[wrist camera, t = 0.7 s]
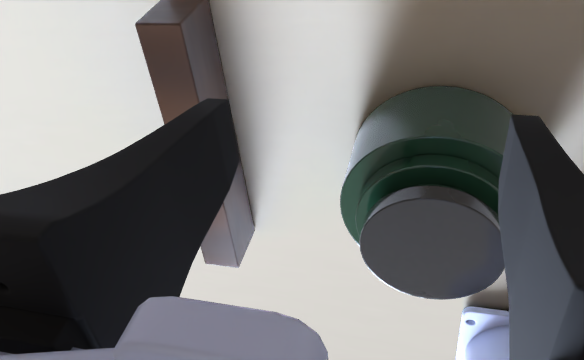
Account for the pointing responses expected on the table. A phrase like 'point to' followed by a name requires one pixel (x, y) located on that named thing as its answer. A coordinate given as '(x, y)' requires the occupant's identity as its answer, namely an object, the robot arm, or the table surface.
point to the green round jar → (429, 191)
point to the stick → (187, 93)
